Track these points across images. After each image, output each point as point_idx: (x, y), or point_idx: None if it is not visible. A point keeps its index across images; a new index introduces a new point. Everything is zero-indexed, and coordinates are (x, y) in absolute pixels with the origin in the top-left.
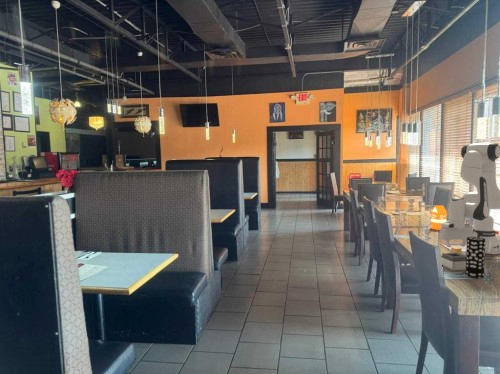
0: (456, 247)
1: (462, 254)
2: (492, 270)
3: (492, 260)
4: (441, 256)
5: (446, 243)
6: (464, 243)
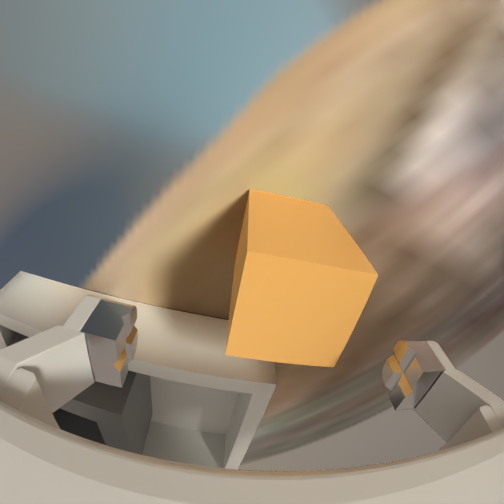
0: (332, 299)
1: (239, 385)
2: (259, 453)
3: (469, 349)
4: (12, 326)
5: (54, 327)
6: (420, 413)
